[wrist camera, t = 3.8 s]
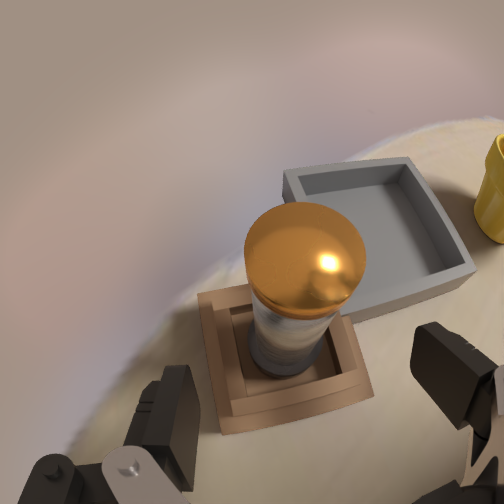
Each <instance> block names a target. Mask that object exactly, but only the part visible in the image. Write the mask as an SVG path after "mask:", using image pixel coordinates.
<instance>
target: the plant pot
mask: <svg viewBox="0 0 504 504" xmlns="http://www.w3.org/2000/svg"><path fill="white" fill-rule="evenodd" d="M485 167H486V173H485V176H484V179H483V182H482V185H481V188H480V191H479V194H478V196H477V199H476V202H475V204H474V215H475V218H476V221H477V223H478V225H479V226H480V228H481V229H482V230H483V232H484V233H485V234H486V235H487V236H488V237H489V238H491V239H492V240H493V241H495V242H497V243H501V244H504V134H500V135H498V136H497V137H496V138H495V140H494V142H493V144H492V146H491V148H490V150H489V152H488V154H487V157H486V160H485Z"/></svg>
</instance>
